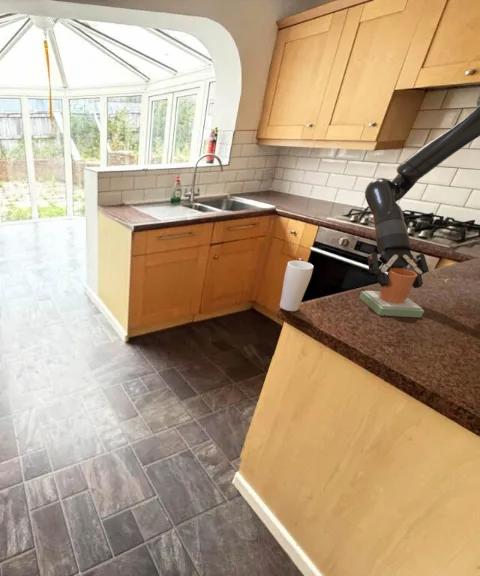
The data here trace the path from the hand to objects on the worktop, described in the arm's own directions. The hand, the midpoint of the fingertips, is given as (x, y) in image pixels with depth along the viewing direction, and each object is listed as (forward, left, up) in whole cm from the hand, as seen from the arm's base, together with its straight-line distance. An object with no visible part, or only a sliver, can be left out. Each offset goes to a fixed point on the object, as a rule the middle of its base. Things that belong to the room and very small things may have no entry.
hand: (401, 286), depth 95 cm
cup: (0, -1, -5) cm, 5 cm away
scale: (0, -1, -8) cm, 8 cm away
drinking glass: (+30, +3, -8) cm, 31 cm away
